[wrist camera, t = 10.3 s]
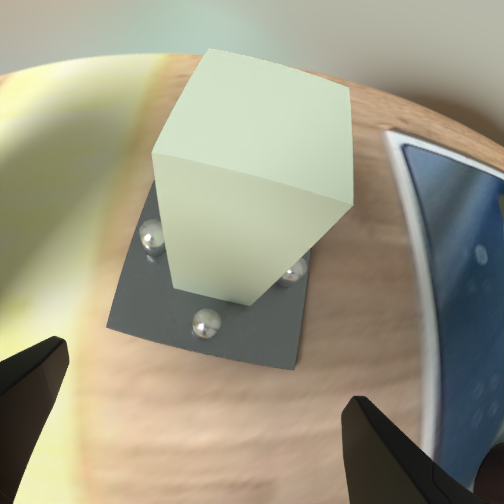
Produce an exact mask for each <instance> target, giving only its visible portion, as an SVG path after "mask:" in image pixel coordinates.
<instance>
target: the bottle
mask: <svg viewBox="0 0 504 504" xmlns="http://www.w3.org/2000/svg"><path fill="white" fill-rule="evenodd" d="M474 495H476V496H477V497H478V498H480V499H481V500H483V501H485V502H488V503H492V504H504V443H500V444H498V445H497V446H496V447H494V448H493V449H492V450H491V452H490V453H489V454H488V455H487V457H486V458H485V460H484V461H483V463H482V465H481V467H480V469H479V471H478V474H477V477H476V480H475V485H474Z"/></svg>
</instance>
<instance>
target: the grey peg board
mask: <svg viewBox="0 0 504 504" xmlns="http://www.w3.org/2000/svg"><path fill="white" fill-rule="evenodd" d="M310 252H311V248H310V249H309V250H308V251H307V252H306V253H305V254H304V255H303V256H302V257H301V258H300V259H299V260H298V261H297V262H296V263H295V264H294V265H293V266H292V267H291V268H290V269H289V270H288V271H287V272H285V273H284V274H283V275H282V276H281V277H280V278H279V279H278V280H277V281H276V282H275V283H274V284H273V285H272V286H271V287H270V288H269V289H268V290H267V291H266V292H265V293H263V294H262V295H261V296H260V297H259V298H258V299H257V300H256V301H255V302H254V303H253V304H252V305H251V306H247V305H243V304H238V303H234V302H229V301H225V300H221V299H216V298H212V297H208V296H204V295H200V294H195V293H191V292H187V291H183V290H179V289H175V288H173V283H172V278H171V273H170V268H169V263H168V258H167V252H166V247H165V241H164V235H163V230H162V224H161V218H160V211H159V205H158V198H157V191H156V184H155V180H154V182H153V185H152V187H151V190H150V192H149V195H148V197H147V200H146V202H145V205H144V208H143V210H142V213H141V216H140V219H139V221H138V224H137V227H136V230H135V233H134V235H133V238H132V241H131V244H130V247H129V250H128V253H127V256H126V259H125V263H124V266H123V269H122V272H121V275H120V279H119V282H118V285H117V289H116V292H115V296H114V299H113V303H112V307H111V311H110V314H109V318H108V322H107V326H106V327H107V328H109V329H112V330H115V331H118V332H122V333H125V334H128V335H132V336H135V337H139V338H142V339H146V340H150V341H153V342H157V343H161V344H165V345H169V346H172V347H176V348H181V349H185V350H189V351H193V352H198V353H202V354H206V355H211V356H216V357H221V358H225V359H230V360H236V361H241V362H246V363H252V364H257V365H263V366H269V367H276V368H282V369H289V370H294V369H295V362H296V356H297V350H298V343H299V337H300V330H301V323H302V316H303V309H304V301H305V294H306V286H307V278H308V270H309V261H310Z"/></svg>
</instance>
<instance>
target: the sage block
mask: <svg viewBox="0 0 504 504" xmlns="http://www.w3.org/2000/svg"><path fill="white" fill-rule="evenodd" d="M151 153H152V161H153V169H154V177H155V184H156V191H157V198H158V205H159V211H160V218H161V224H162V230H163V235H164V241H165V247H166V252H167V258H168V263H169V268H170V273H171V278H172V283H173V288H175V289H179V290H183V291H187V292H191V293H195V294H200V295H204V296H208V297H212V298H216V299H221V300H225V301H229V302H234V303H238V304H243V305H247V306H251V305H252V304H253V303H254V302H255V301H256V300H257V299H258V298H259V297H260V296H261V295H262V294H263V293H265V292H266V291H267V290H268V289H269V288H270V287H271V286H272V285H273V284H274V283H275V282H276V281H277V280H278V279H279V278H280V277H281V276H282V275H283V274H284V273H285V272H287V271H288V270H289V269H290V268H291V267H292V266H293V265H294V264H295V263H296V262H297V261H298V260H299V259H300V258H301V257H302V256H303V255H304V254H305V253H306V252H307V251H308V250H309V249H310V248H311V247H312V246H313V245H314V244H315V243H316V242H317V241H318V240H319V239H320V238H321V237H322V236H323V235H324V234H325V233H326V232H327V231H328V230H329V229H330V228H331V227H332V226H333V225H334V224H335V223H336V222H337V221H338V220H339V219H340V218H341V217H342V216H343V215H344V214H345V213H346V212H347V211H348V210H349V209H350V208H351V207H352V206H353V144H352V122H351V106H350V93H349V88H348V87H345V86H343V85H340V84H337V83H335V82H332V81H329V80H327V79H324V78H321V77H318V76H315V75H312V74H309V73H306V72H303V71H300V70H297V69H294V68H290V67H287V66H284V65H280V64H277V63H273V62H269V61H266V60H262V59H258V58H254V57H249V56H245V55H241V54H236V53H232V52H227V51H222V50H217V49H210V48H209V49H208V50H207V52H206V53H205V55H204V56H203V58H202V60H201V61H200V63H199V64H198V66H197V68H196V69H195V71H194V73H193V74H192V76H191V78H190V80H189V81H188V83H187V85H186V86H185V88H184V90H183V92H182V94H181V95H180V97H179V99H178V101H177V103H176V104H175V106H174V108H173V110H172V112H171V114H170V116H169V118H168V120H167V121H166V123H165V125H164V127H163V129H162V131H161V133H160V135H159V137H158V139H157V141H156V143H155V146H154V148H153V150H152V152H151Z"/></svg>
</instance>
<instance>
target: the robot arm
mask: <svg viewBox="0 0 504 504" xmlns="http://www.w3.org/2000/svg"><path fill="white" fill-rule="evenodd" d="M68 365H69V354H68V348H67V343H66V341H65V340H64V339H62V338H60V337H57V336H52V337H50V338H48V339H46V340H44V341H42V342H40V343H38V344H36V345H33V346H31V347H29V348H27V349H25V350H23V351H21V352H19V353H17V354H15V355H13V356H11V357H9V358H7V359H5V360H3V361H1V362H0V504H13V501H14V499H15V496H16V493H17V491H18V488H19V485H20V482H21V480H22V477H23V474H24V472H25V469H26V467H27V464H28V462H29V459H30V457H31V454H32V452H33V450H34V447H35V445H36V443H37V440H38V438H39V436H40V434H41V431H42V429H43V427H44V425H45V423H46V420H47V418H48V416H49V414H50V412H51V410H52V408H53V406H54V403H55V401H56V398H57V395H58V392H59V390H60V387H61V384H62V381H63V379H64V376H65V373H66V371H67V368H68ZM341 423H342V444H343V459H344V466H345V472H346V479H347V486H348V493H349V500H350V504H492V503H488V502H485V501H483V500H481V499H480V498H478V497H477V496H476V495H474V494H473V493H471V492H470V491H469V490H467V489H466V488H465V487H463V486H462V485H461V484H459V483H458V482H457V481H455V480H454V479H453V478H452V477H450V476H449V475H448V474H447V473H446V472H445V471H444V470H442V469H441V468H440V467H439V466H438V465H437V464H436V463H435V462H433V461H432V460H431V459H430V458H429V457H428V456H427V455H426V454H425V453H424V452H423V451H422V450H421V449H420V448H419V447H418V446H417V445H416V444H415V443H413V442H412V441H411V440H410V439H409V438H408V437H407V436H406V435H405V434H404V433H403V432H402V431H401V430H400V429H399V428H398V427H397V426H396V425H395V424H394V423H393V422H392V421H391V420H389V419H388V418H387V417H386V416H385V415H384V414H383V413H382V412H381V411H380V410H379V409H378V408H377V407H376V406H375V405H374V404H373V403H372V402H371V401H370V400H369V399H368V398H367V397H365V396H353V397H352V398H351V399H350V401H349V402H348V404H347V405H346V407H345V408H344V410H343V412H342V415H341Z"/></svg>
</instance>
